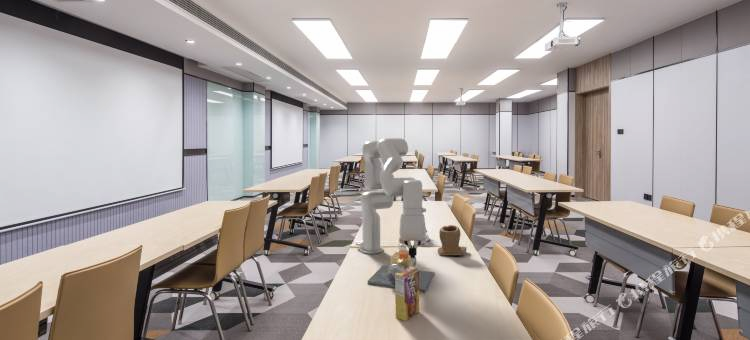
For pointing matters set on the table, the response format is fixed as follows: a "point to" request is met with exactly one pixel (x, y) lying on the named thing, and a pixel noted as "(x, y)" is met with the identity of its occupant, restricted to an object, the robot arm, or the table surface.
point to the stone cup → (450, 241)
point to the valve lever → (402, 251)
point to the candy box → (407, 293)
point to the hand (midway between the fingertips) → (412, 257)
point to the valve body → (387, 273)
